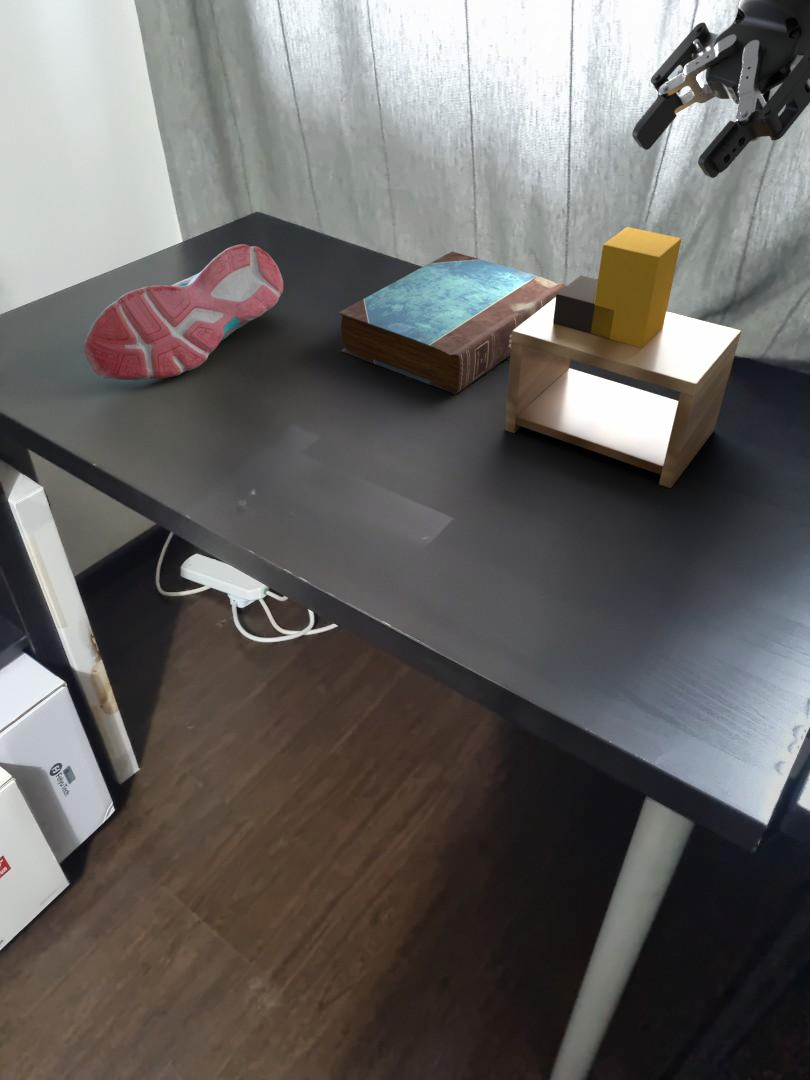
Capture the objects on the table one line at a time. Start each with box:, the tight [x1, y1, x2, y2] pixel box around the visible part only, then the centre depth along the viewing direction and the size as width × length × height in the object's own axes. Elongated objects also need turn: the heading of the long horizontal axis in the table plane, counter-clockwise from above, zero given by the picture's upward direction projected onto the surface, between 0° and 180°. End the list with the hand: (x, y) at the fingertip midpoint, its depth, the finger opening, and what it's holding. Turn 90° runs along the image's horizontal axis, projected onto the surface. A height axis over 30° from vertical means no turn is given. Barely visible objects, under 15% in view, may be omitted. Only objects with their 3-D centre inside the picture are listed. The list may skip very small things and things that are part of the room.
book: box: [338, 251, 567, 395], centre depth 100 cm, size 23×18×5 cm
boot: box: [553, 226, 682, 348], centre depth 76 cm, size 9×5×8 cm, turn 55°
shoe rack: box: [504, 297, 742, 489], centre depth 82 cm, size 18×12×11 cm, turn 55°
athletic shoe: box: [83, 243, 284, 381], centre depth 99 cm, size 27×9×12 cm
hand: (670, 156), depth 69 cm, fingers open, 8 cm apart
